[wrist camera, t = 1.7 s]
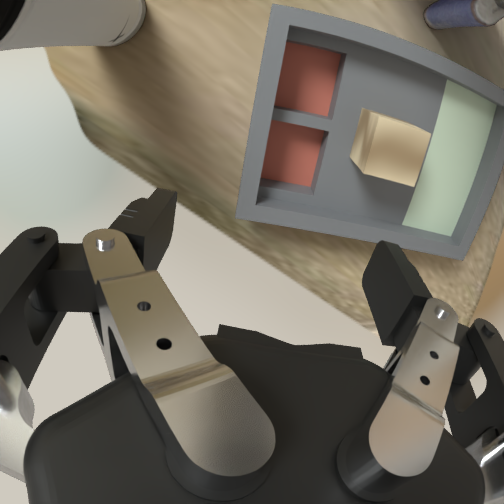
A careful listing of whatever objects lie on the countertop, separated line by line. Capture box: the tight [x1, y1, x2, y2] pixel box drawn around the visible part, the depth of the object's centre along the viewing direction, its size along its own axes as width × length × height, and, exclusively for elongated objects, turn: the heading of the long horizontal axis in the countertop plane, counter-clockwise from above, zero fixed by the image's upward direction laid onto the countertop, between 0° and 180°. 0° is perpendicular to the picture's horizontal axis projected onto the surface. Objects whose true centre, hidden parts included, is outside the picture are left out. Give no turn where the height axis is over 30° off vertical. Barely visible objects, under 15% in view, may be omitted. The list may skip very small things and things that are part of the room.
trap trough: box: [235, 4, 504, 261], centre depth 25 cm, size 18×24×4 cm
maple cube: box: [350, 108, 431, 187], centre depth 23 cm, size 4×4×4 cm
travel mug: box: [0, 0, 146, 51], centre depth 13 cm, size 6×7×20 cm
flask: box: [423, 0, 504, 29], centre depth 15 cm, size 9×3×11 cm, turn 124°
